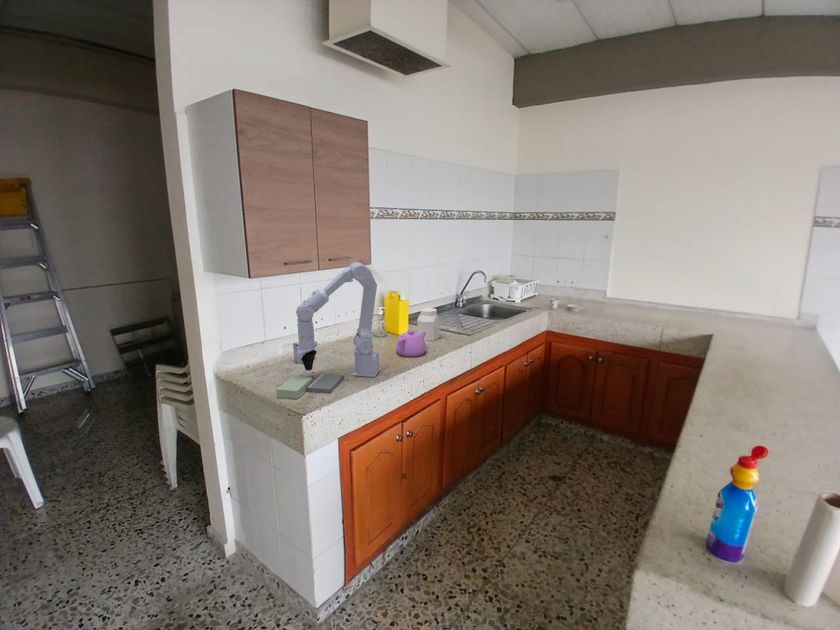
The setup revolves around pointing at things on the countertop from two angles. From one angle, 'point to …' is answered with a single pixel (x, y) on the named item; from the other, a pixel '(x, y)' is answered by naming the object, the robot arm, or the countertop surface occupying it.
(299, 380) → the thick sage green slab
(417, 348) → the teapot
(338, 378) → the ticket body
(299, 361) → the medicine box
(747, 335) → the countertop surface
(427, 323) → the jar
